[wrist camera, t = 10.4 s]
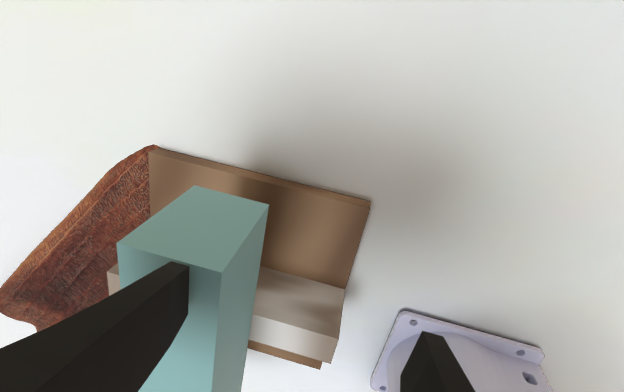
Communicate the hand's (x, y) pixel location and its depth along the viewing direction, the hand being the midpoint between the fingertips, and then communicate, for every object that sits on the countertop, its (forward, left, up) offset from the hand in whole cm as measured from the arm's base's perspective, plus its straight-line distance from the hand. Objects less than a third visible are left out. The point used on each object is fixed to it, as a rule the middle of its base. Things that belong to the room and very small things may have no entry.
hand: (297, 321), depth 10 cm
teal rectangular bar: (+4, +7, -5) cm, 10 cm away
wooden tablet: (+16, +12, -11) cm, 23 cm away
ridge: (+5, +7, -10) cm, 13 cm away
